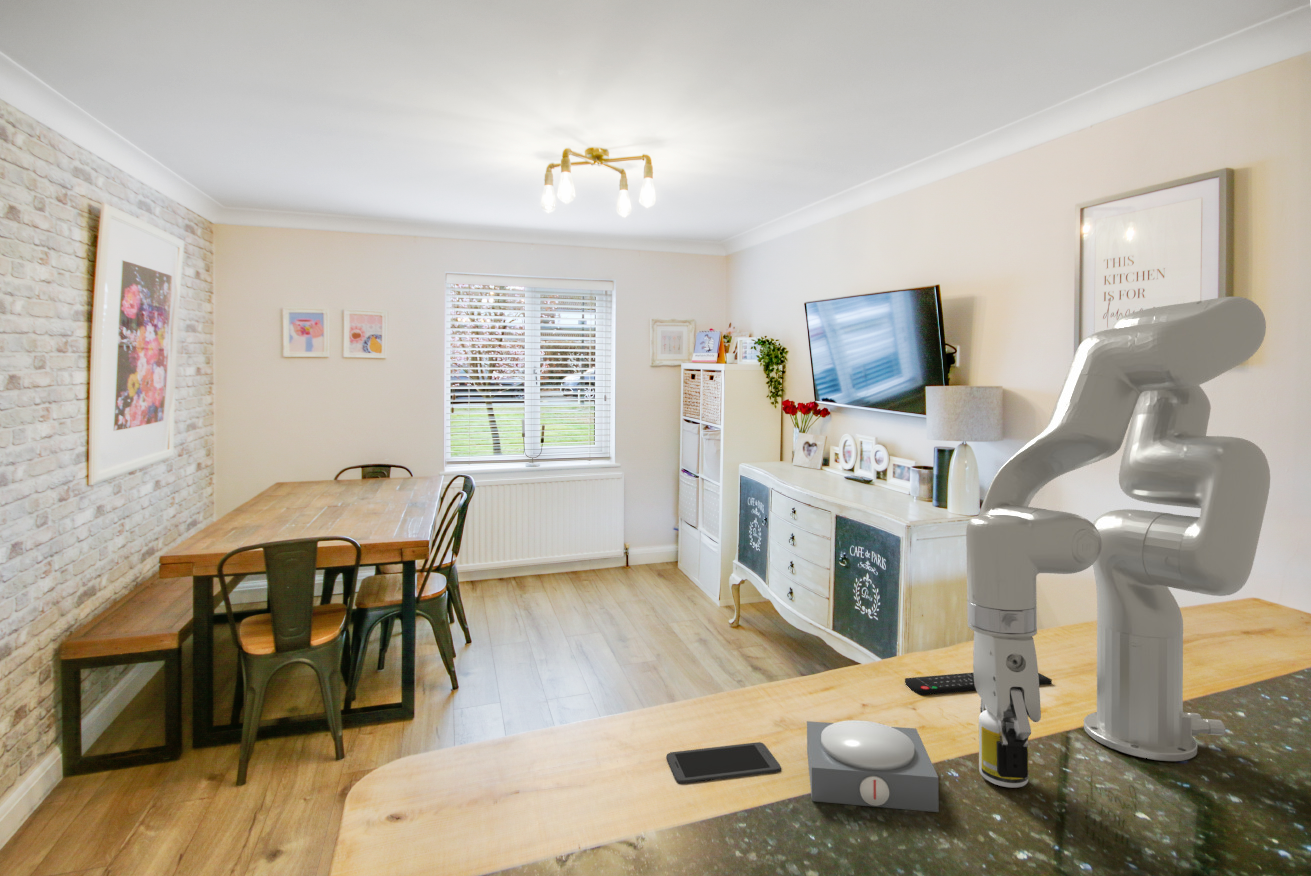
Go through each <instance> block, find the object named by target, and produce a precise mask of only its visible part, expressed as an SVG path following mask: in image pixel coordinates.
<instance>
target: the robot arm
mask: <svg viewBox="0 0 1311 876" xmlns="http://www.w3.org/2000/svg"><path fill="white" fill-rule="evenodd" d="M1266 321H1267V320H1266V318H1265V315H1264V313H1263V311H1262V309H1261V308H1260V307H1259V305H1258V304H1256V302H1254V301H1253V300H1250V299H1249V298H1248V297H1242V296H1223V297H1215V298H1210V299H1205V300H1198V301H1197V300H1196V301H1190V302H1183V303H1177V304H1169V305H1163V306H1162V305H1161V306H1157V307H1152V308H1146V309H1142V310H1137V311H1134V312H1131V313H1129V314H1126V315H1124V316H1122V317H1120V318H1119V319H1117V320H1116V322H1115V323H1114V324H1113V326H1112V328H1110V329H1104V330H1100V331H1097V332H1095V333H1092V334H1090V335H1088V336H1087V337H1086V338H1084V339H1083V340H1082V342H1080V344H1079V345H1078V347H1077V349H1076V351H1075V353H1074V355H1073V357H1072V358H1073V359H1072V361H1071V363H1070V366H1069V369H1068V371H1067V373H1066V377H1065V379H1064V382H1063V384H1062V387H1061V389H1060V392H1059V394H1058V397H1057V400H1056V402H1055V404H1054V408H1053V411H1052V413H1051V415H1050V418H1049V420H1048V423H1047V425H1046V427H1045V428H1044V429H1043V431H1041V432H1040V434H1038V435H1036V436H1035V437H1034V438H1032V439H1031V440H1030V441H1028V442H1026V444H1025V445H1023V446H1022V447H1021V448H1020V449H1019V450H1018V451H1017V452H1015V454H1013V455H1012V456H1011V457H1010V458H1009V459H1008V460H1007V461H1006V462H1005V463H1004V464H1003V465H1002V466H1001V467H1000V469H998V471H997V472H996V474H995V475H994V477H993V478H992V481H991V482H990V484H989V486H988V489H987V491H986V494H985V497H984V499H983V501H982V504H981V507H980V509H979V510H980V511H979V514H978V515H976V516H973V517H971V518H970V519H969V521H968V522H967V524H966V529H965V532H966V535H965V537H966V588H967V589H966V591H967V595H966V596H967V597H966V598H967V600H966V602H967V603H966V605H967V607H966V608H967V610H966V611H967V613H966V614H967V615H966V616H967V627H968V628H969V629H970V630H972V631H973V632H974V633H973V650H972V651H973V652H972V653H973V655H972V656H973V659H972V660H973V662H972V664H973V665H972V667H973V668H972V669H973V672H974V684H975V688H976V693H977V695H979V697H980V707H979V708H980V709H979V710H980V714H981V713H982V712H983V711H985V710H986V708H985V704H986V706H987V707H988V708H989V710H990V711H991V712H992V714H993V715H994V716H995V717H996V718H997V719H998V728H999V737H1000V741H997V772H998V774H999V775H1000V776H1001V777H1014V778H1027V776H1028V777H1029V774H1028V771H1029V750H1028V751H1027V747H1028V748H1029V737H1030V736H1031V734H1032V729H1031V724H1030V720H1031V721H1032V722H1034V723H1038V722H1040V721H1041V718H1042V711H1041V709H1042V708H1041V693H1040V685H1039V676H1038V673H1039V667H1038V657H1037V654H1036V653H1037V651H1036V650H1037V649H1036V646H1035V645H1036V644H1035V640H1034V638H1033V637H1034V636H1036V635H1037V634H1038V622H1037V621H1038V619H1037V618H1038V617H1037V616H1038V615H1037V613H1038V611H1037V609H1038V607H1037V604H1038V603H1037V598H1038V597H1037V576H1038V575H1039V574H1055V575H1056V574H1057V575H1059V574H1060V575H1072V574H1076V573H1080V572H1083V571H1086V570H1087V569H1088V568H1090V567H1091V566H1092V568H1093V573H1094V580H1095V587H1096V615H1097V616H1096V712H1092V713H1089V714H1087V715H1086V716H1085V717H1084V718H1083V729H1084V731H1085V732H1086V734H1087V735H1088V736H1089V737H1091V738H1092V739H1093V740H1095V741H1096V742H1098V743H1100V744H1101V745H1103V746H1106V747H1107V748H1110V749H1112V750H1115V751H1117V752H1120V753H1122V754H1127V755H1130V756H1133V757H1138V758H1141V759H1142V758H1143V759H1146V758H1147V759H1148V760H1154V761H1160V762H1161V761H1162V762H1182V761H1186V760H1191V759H1193V758H1194V757H1196V756H1197V754H1198V741H1196V739H1195V738H1194V737H1197V736H1198V735H1199V734H1206V735H1212V736H1224V735H1225V734H1226V727H1225V723H1224V722H1223V721H1222V720H1221V719H1213V718H1212V719H1210V718H1203V719H1202V716H1201V714H1200V713H1198V712H1196V713H1195V712H1185V711H1184V710H1183V709H1184V708H1183V707H1184V706H1183V705H1184V704H1183V701H1184V698H1183V697H1184V695H1183V693H1184V691H1183V689H1184V686H1183V683H1184V680H1183V679H1184V677H1183V676H1184V620H1183V615H1182V611H1181V609H1180V606H1179V604H1178V602H1177V600H1176V599H1175V596H1174V595H1173V593H1172V591H1171V590H1170V589H1169V588H1173V589H1177V590H1183V591H1187V592H1192V593H1198V594H1202V595H1207V596H1216V597H1226V596H1230V595H1234V594H1236V593H1238V592H1239V591H1240V590H1241V589H1242V588H1243V587H1244V586H1245V584H1247V582H1248V580H1249V578H1250V575H1251V573H1252V572H1251V571H1252V569H1253V566H1254V561H1255V558H1256V553H1257V549H1258V545H1259V541H1260V536H1261V531H1262V526H1263V522H1264V516H1265V512H1266V508H1267V504H1268V499H1269V495H1270V494H1269V493H1270V487H1271V486H1270V485H1271V471H1270V466H1269V461H1268V459H1267V457H1266V454H1265V453H1264V452H1263V450H1262V449H1261V448H1260V446H1258V445H1257V444H1255V442H1252V441H1250V440H1248V439H1245V438H1240V437H1236V436H1235V437H1234V436H1220V435H1217V436H1216V435H1215V436H1214V435H1210V436H1208V435H1207V431H1208V426H1209V419H1210V416H1211V409H1212V407H1211V402H1210V400H1209V397H1208V396H1207V393H1206V392H1205V391H1204V389H1203V388H1202V387H1201V385H1203V384H1205V383H1207V382H1209V381H1212V380H1214V379H1215V378H1217V377H1220V376H1222V374H1225V373H1227V372H1229V371H1230V370H1232V369H1234V368H1236V367H1239V366H1240V365H1242V364H1243V363H1245V362H1247V361H1248V360H1250V358H1252V357H1253V356H1254V355H1255V354H1256V353H1257V352H1258V351H1259V349H1260V348H1261V347H1262V344H1263V342H1264V339H1265V336H1266V332H1267V331H1266V330H1267V325H1266V324H1267V322H1266ZM1127 431H1128V432H1127ZM1126 434H1127V435H1126ZM1125 437H1126V438H1125ZM1124 439H1126V440H1125V445H1124V448H1123V452H1122V457H1121V460H1120V466H1119V471H1118V472H1119V473H1118V483H1119V487H1120V489H1121V490H1122V492H1123V494H1125V495H1126V496H1128V497H1130V499H1131V498H1132V499H1134V500H1136V501H1138V502H1145V503H1149V504H1155V505H1163V506H1164V505H1165V506H1174V507H1185V508H1190V509H1192V508H1194V509H1200V514H1199V515H1200V516H1191V515H1183V514H1174V513H1170V512H1161V511H1160V512H1159V511H1152V510H1144V509H1130V508H1124V509H1116V510H1115V509H1114V510H1111V511H1110V510H1109V511H1108V512H1105V513H1103V514H1101V515H1100V516H1098V517H1097V518H1096V519H1095V520H1094V521H1093V522H1091V521H1090V520H1089V519H1087V518H1085V517H1083V516H1081V515H1079V514H1076V513H1072V512H1067V511H1060V510H1059V511H1058V510H1053V509H1045V508H1039V507H1033V506H1032V507H1031V506H1030V504H1031V501H1032V500H1033V499H1034V498H1035V495H1036V494H1037V493H1038V492H1039V491H1040V490H1041V489H1043V487H1044V486H1046V485H1047V484H1049V483H1050V482H1051V481H1053V480H1054V479H1056V478H1058V477H1060V476H1063V475H1065V474H1067V473H1070V472H1073V471H1075V470H1077V469H1080V468H1084V467H1086V466H1089V465H1092V464H1094V463H1097V462H1100V461H1102V460H1104V459H1107V458H1109V457H1112V456H1113V455H1115V454H1116V453H1117V452H1118V451H1119V450H1120V449H1121V447H1122V445H1123V442H1124ZM973 672H972V673H973ZM1004 711H1007V712H1012V715H1013V716H1004ZM1029 719H1030V720H1029ZM1006 722H1007V723H1014V726H1013V728H1009V730H1008V732H1007V731H1006Z"/></svg>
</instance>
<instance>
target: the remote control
mask: <svg viewBox="0 0 1311 876" xmlns="http://www.w3.org/2000/svg"><path fill="white" fill-rule="evenodd" d="M1038 676H1039V686H1041V685H1052V682H1053V679H1052V678H1049V677H1048V676H1046V675H1043V674H1041V672H1040V673H1039V672H1038ZM905 683H906V684H905ZM904 684H905V686H906V685H907V686H908V687H909V688H910V689H911V690H910V689H909V688H908V687H907V686H906V687H907V688H908V689H909V690H910V691H912V692H913V691H914V692H913V693H915V694H917V695H920V696H929V695H932V696H933V695H939V694H942V695H943V694H951V693H952V694H953V693H963V692H973V691H976V688H975V684H974V672H966V673H965V672H963V673H952V674H942V675H940V674H939V675H929V676H917V677H905V678H904ZM976 692H977V691H976Z"/></svg>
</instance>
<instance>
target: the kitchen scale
mask: <svg viewBox="0 0 1311 876" xmlns="http://www.w3.org/2000/svg"><path fill="white" fill-rule="evenodd" d="M806 752H807V754H806V755H807V764H808V775H809V783H810V785H809V786H810V793H811V794H810V795H811V801H812V802H816V803H817V802H818V803H827V804H829V803H830V804H841V805H842V804H843V805H851V806H852V805H853V806H862V807H873V808H874V807H876V808H886V809H897V810H910V811H920V812H921V811H922V812H929V813H930V812H931V813H939V812H940V811H939V776H938V773H937V771H936V768H935V767H934V765H933V763H932V760H931V757H930V756H929V754H928V752H927V749H926V747H925V745H924V743H923V741H922V738H921V736H920V734H919V731H918V729H917V728H913V727H899V726H889V725H886V724H884V723H883V724H882V723H880V722H874V721H869V720H868V721H867V720H859V719H858V720H853V719H852V720H842V721H836V722H823V721H809V720H808V721H807V720H806Z"/></svg>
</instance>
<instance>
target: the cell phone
mask: <svg viewBox="0 0 1311 876" xmlns="http://www.w3.org/2000/svg"><path fill="white" fill-rule="evenodd" d="M665 759H666V762H667V765H668V766H669V769H670V772H671V773H672V775H673V778H674V780H675V782H676V783H677V784H679V785H685V784H686V785H687V784H694V783H702V782H710V781H717V780H725V779H734V778H736V779H737V778H743V777H751V776H759V775H760V776H761V775H766V774H774V773H780V772H782V766H781V764H780V763H779V762H778V761H777V759H776V758H775V756H774V755H773V754H772V753H771V751H770V750H769V748H768V747H767V746H766V744H765V743H763V742H761V741H759V742H750V743H749V742H747V743H739V744H731V745H723V746H722V745H721V746H714V747H706V748H705V747H704V748H696V749H687V750H680V751H671V752H668V753H667V754H666V758H665Z"/></svg>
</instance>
